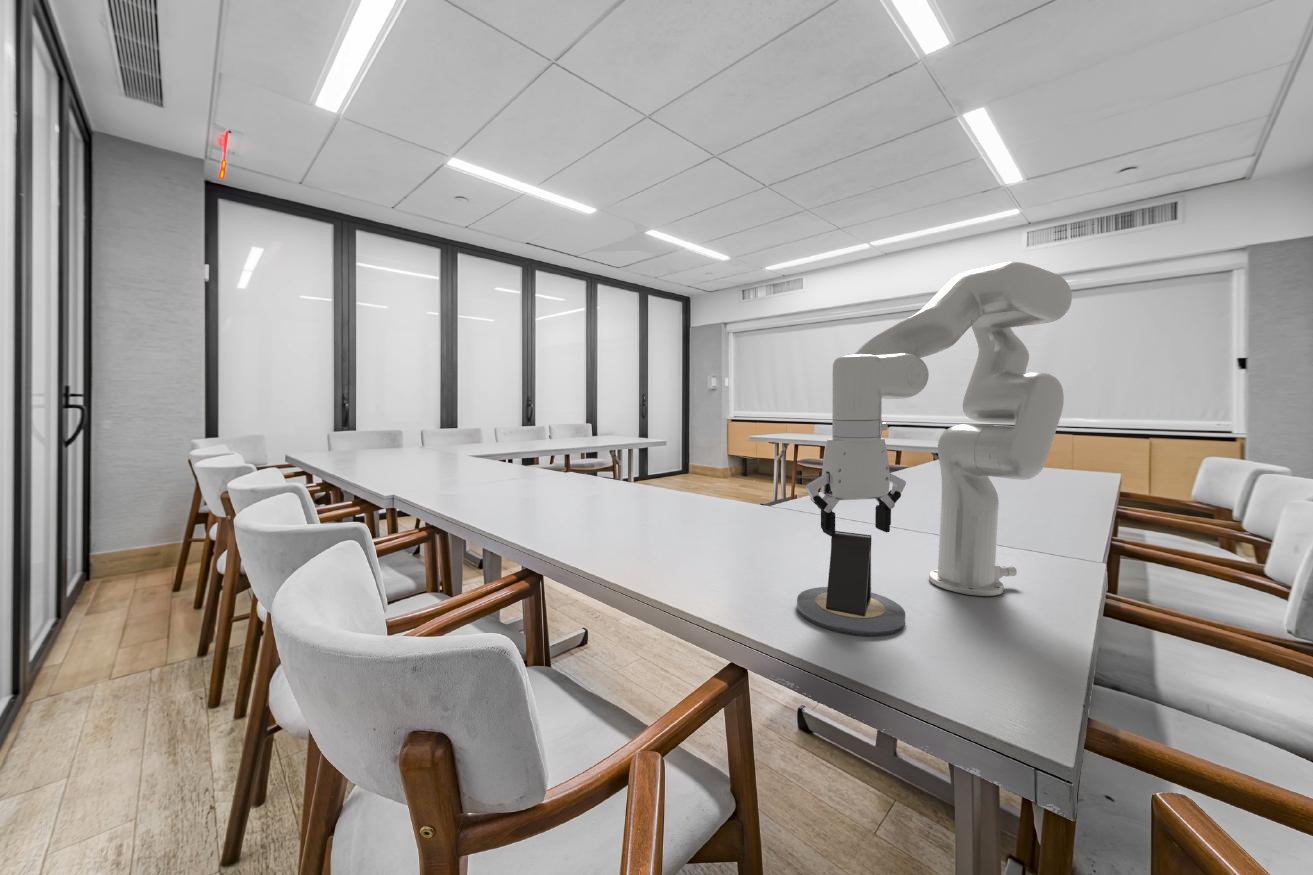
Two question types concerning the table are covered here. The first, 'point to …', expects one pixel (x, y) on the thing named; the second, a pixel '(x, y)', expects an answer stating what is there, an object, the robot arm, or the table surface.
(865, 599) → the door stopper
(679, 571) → the table surface
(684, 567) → the table surface
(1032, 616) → the table surface
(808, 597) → the rosette plate
